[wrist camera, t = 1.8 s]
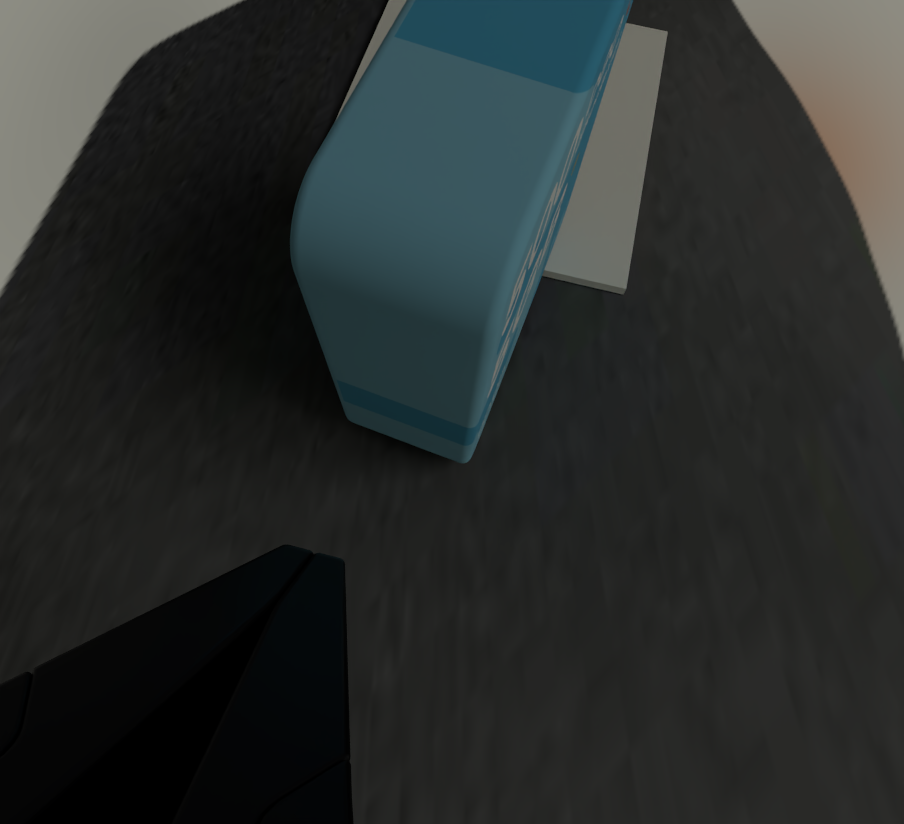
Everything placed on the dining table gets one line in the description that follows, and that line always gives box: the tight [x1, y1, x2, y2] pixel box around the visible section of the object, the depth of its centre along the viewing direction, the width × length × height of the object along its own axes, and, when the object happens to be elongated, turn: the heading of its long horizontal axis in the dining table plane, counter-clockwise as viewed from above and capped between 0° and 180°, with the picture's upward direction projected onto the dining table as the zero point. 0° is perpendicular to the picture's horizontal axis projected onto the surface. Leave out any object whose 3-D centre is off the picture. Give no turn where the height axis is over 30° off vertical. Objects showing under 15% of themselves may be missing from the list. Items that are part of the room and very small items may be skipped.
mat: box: [336, 0, 667, 294], centre depth 29 cm, size 16×14×1 cm
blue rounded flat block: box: [290, 0, 633, 463], centre depth 19 cm, size 12×4×12 cm, turn 159°
